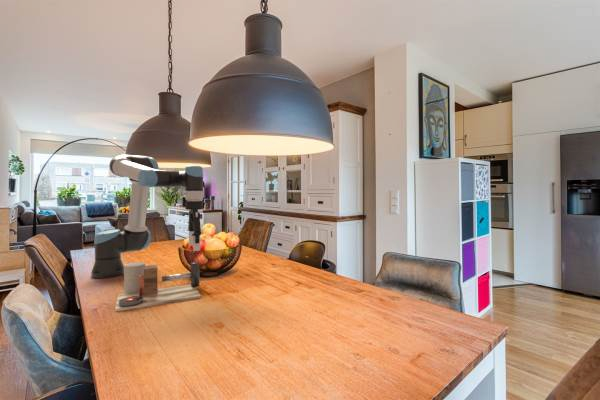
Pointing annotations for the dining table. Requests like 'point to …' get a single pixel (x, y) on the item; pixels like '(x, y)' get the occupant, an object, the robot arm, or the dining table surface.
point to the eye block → (158, 292)
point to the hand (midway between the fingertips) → (194, 247)
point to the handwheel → (134, 299)
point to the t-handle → (186, 275)
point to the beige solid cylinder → (132, 276)
